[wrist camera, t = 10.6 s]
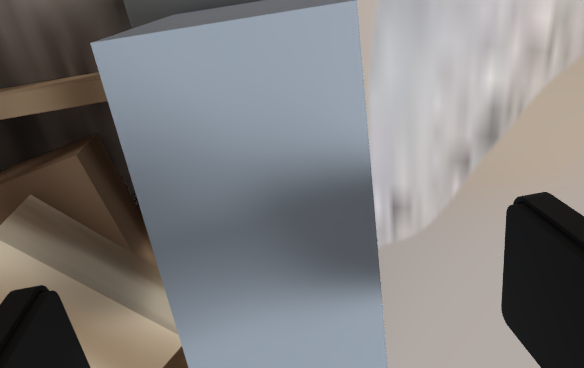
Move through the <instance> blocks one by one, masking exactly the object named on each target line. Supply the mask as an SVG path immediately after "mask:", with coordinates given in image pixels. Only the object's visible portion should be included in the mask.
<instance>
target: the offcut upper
mask: <svg viewBox="0 0 584 368" xmlns="http://www.w3.org/2000/svg"><path fill="white" fill-rule="evenodd" d="M39 285H43V286H46V287H47V288H48V289H49V291H52V290H53V291H56V292H57V293H58V295H59V296H60V299H61V301H62V303H63V306H64V308H65V310H66V312H67V315H68V317H69V319H70V322H71V324H72V326H73V328H74V331H75V333H76V335H77V338H78V340H79V342H80V345H81V347H82V349H83V351H84V354H85V356H86V358H87V361H88V363H89V365H90V367H91V368H163V367H164V366H165V364H166V363H167V362H168V361H169V360H170V359H171V358H172V356H173V355H174V354H175V353H176V352H177V351H178V350H179V348H180V347H181V346H182V345H181V341H180V338H179V335H178V331H177V328H176V325H175V322H174V318H173V315H172V312H171V308H170V305H169V302H168V298H167V295H166V292H165V289H164V285H163V282H162V279H161V275H160V272H159V269H158V268H157V267H155V266H154V265H152V264H150V263H148V262H147V261H145V260H143V259H141V258H140V257H138V256H136V255H135V254H133V253H131V252H129V251H128V250H126V249H124V248H122V247H121V246H119V245H117V244H116V243H114V242H112V241H110V240H109V239H107V238H105V237H103V236H102V235H100V234H98V233H97V232H95V231H93V230H91V229H90V228H88V227H86V226H84V225H83V224H81V223H79V222H77V221H76V220H74V219H72V218H71V217H69V216H67V215H65V214H64V213H62V212H60V211H58V210H57V209H55V208H53V207H52V206H50V205H48V204H46V203H45V202H43V201H41V200H39V199H38V198H36V197H34V196H33V195H31V194H30V195H29V196H28V197H27V198H26V199H25V200H24V202H23V203H22V204H21V205H20V206H19V207H18V208H17V209H16V210H15V211H14V212H13V213H12V214H11V215H10V216H9V217H8V218H7V219H6V220H5V221H4V222H3V223H2V224H1V225H0V304H1V303H2V301H3V300H4V299H5V297H6V296H7V295H8V294H9V293H10V292H11V291H13V290H18V289H23V288H29V287H34V286H39Z"/></svg>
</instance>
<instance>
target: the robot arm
mask: <svg viewBox="0 0 584 368" xmlns="http://www.w3.org/2000/svg"><path fill="white" fill-rule="evenodd" d="M503 270H504V271H503V288H502V313H503V317H504V320H505V322H506V323H507V325H508V326H509V328H510V329H511V330H512V331H513V333H514V334H515V335H516V336H517V338H518V339H519V340H520V341H521V343H522V344H523V345H524V347H525V348H526V349H527V350H528V352H529V353H530V354H531V355H532V357H533V358H534V359H535V360H536V362H537V363H538V364H539V365H540V367H541V368H584V216H582V215H581V214H579V213H578V212H576V211H575V210H574V209H572V208H570V207H569V206H568V205H566V204H565V203H563V202H562V201H560V200H559V199H557V198H556V197H554V196H553V195H551V194H549V193H547V192H542V193H537V194H531V195H525V196H521V197H517V198H516V199H515V201H514V203H513V205H510V206H509V207H508V209H507V215H506V233H505V251H504V269H503ZM0 368H91V367H90V365H89V363H88V361H87V358H86V356H85V354H84V351H83V349H82V347H81V345H80V342H79V340H78V338H77V335H76V333H75V331H74V328H73V326H72V324H71V322H70V319H69V317H68V315H67V312H66V310H65V308H64V306H63V303H62V301H61V299H60V296H59V295H58V293H57V292H56V291H53V290H52V291H49V289H48V288H47V287H46V286H43V285H39V286H34V287H29V288H23V289H18V290H13V291H11V292H10V293H9V294H8V295H7V296H6V297H5V299H4V300H3V301H2V303H1V304H0Z"/></svg>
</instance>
